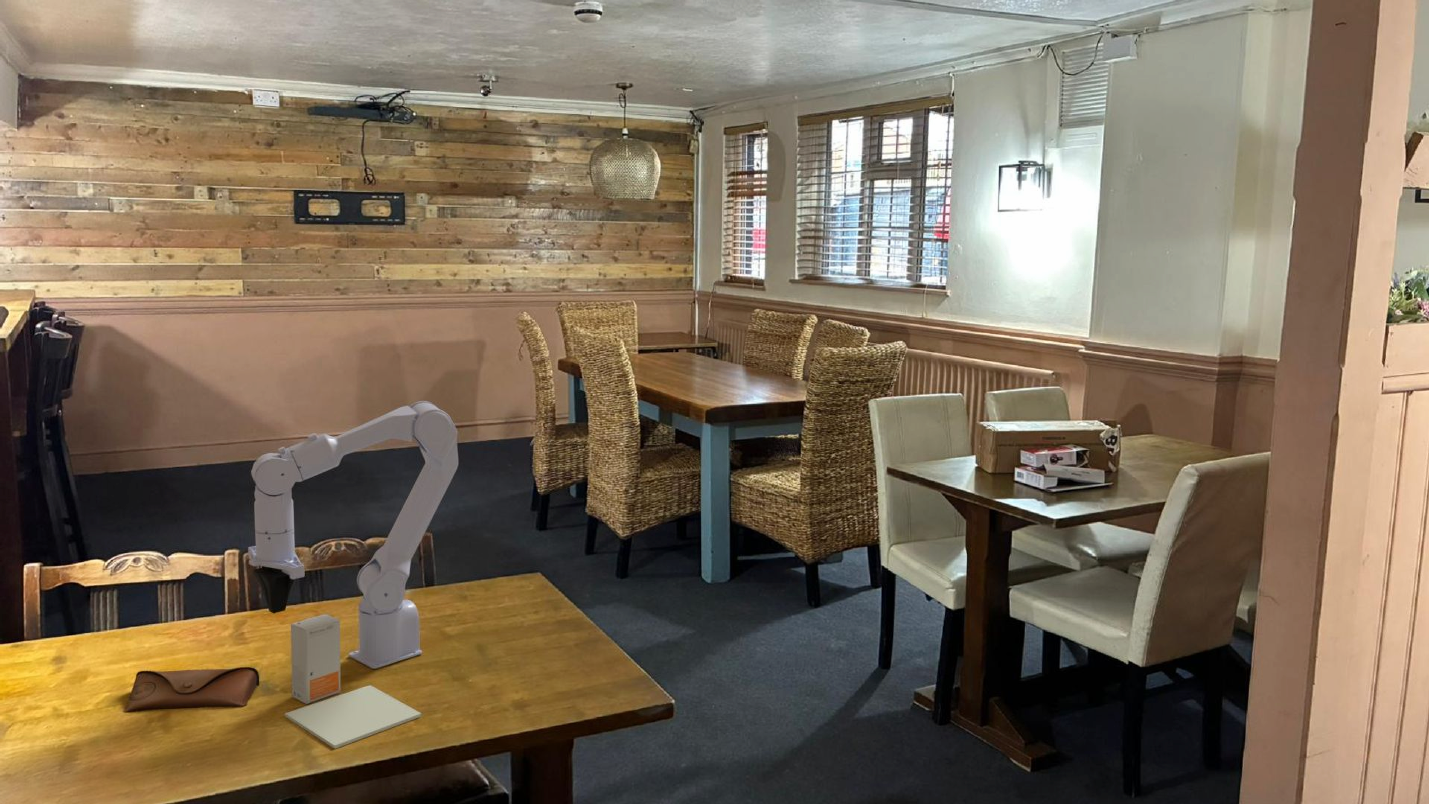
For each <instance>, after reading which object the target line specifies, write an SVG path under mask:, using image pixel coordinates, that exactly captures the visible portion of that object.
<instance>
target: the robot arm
mask: <svg viewBox="0 0 1429 804" xmlns="http://www.w3.org/2000/svg"><path fill="white" fill-rule="evenodd" d="M458 434H459V431H458V429H457V427H456V426H455V423H454V421H453V420H452V418H451V416H450V415H449V414H448V413H447V412H446V411H444V410H442V409H439V408H438V406H437V405H435V404H434V403H432V402H430V401H426V400H420V401H416V402H414V403H413V404H411V405H410V406H409V405H404V406H401V407H398V408H396V409H394V410H391V411H390V412H387V413H385V414H383V415H381V416H378V417H376V418H374V419H372V420H369V421H368V422H365V423H363V424H361V425H359V426H356V427H354V428H352V429H350V430H348V431H346V432H343V433H341V434H339V435H337V436H332V435H328V434H326V433H322V434H319V435H317V434H316V433H315V432H313V433H311V434H307V438H308V439H307V440H304V441H302V442H299V443H296V444H294V445H292V446H289V447H287V448H285V446H282V447H279V448H278V449H277V450H278V453H277V452H276V453H275V452H274V453H273V452H268V453H265V454H262V455H260V457H259V456H258V458H257V459H256V461H254V463H253V466H252V469H251V470H250V473H251V477H252V479H253V482H254V483H255V486H254V487H255V488H254V489H255V490H254V499H255V501H254V503H253V504H254V508H253V509H254V530H255V531H254V534H255V545H254V546H253V545H252V546H248V547H247V549H248V550H247V553H248V564H249V565H250V566H252V567H258V568H255V569H253V571H252V572H253V575H254V576H255V578H256V580H257V581H258V583H259V585H260V587H261V589H262V593H263V595H264V598H265V602H266V606H267V608H268V611H269V612H270V613H272V614H276V613H281V612H285V611H286V608H287V604H288V601H289V595H290V592H291V589H292V587H293V585H294V583H295V580H297V579H300V578H304V577H305V565H304V564H303V563H302V562H301V561H300V559H299V557H298V555H297V553H296V552H295V551H296V549H295V548H296V546H295V545H296V544H295V518H294V517H295V513H294V512H295V511H294V500H293V498H292V497H293V495H292V494H293V493H292V488H293V487H294V485H295V483H297V482H298V483H299V482H300V483H301V482H303V481H305V480H308V479H310V478H313V477H315V476H317V475H320V474H322V473H324V472H327V471H329V470H332V469H334V468H336V467H338V466H339V465H340V464H341V461H342V459H343V457H344V456H346V455H348V454H351V453H355V452H357V451H359V450H363V449H365V448H368V447H371V446H373V445H376V444H379V443H381V442H384V441H386V440H390V439H394V440H399V441H405V442H410V443H412V442H413V440H415V441H416V443H417V444H418V446H419V447H418V448H419V449H420V453H421V454H422V457H423V459H424V461H425V462H424V465H423V467H422V468H421V470H420V473H419V475H418V476H417V478H416V480H415V483H414V484H413V486H412V488H411V491H410V492H409V494H408V497H407V499H406V500H405V502H404V504H403V506H402V508H401V510H400V512H399V514H398V516H397V518H396V520H395V521H394V524H393V526H392V528H391V530H390V532H389V534H388V536H387V538H386V540H385V541H384V544H383V545H382V546H381V547H380V548H378V549H377V550H376V551H375V552H374V554H373V556H372V558H371V560H369V562H367V563H366V564H365V565H363V566H362V567H361V568H360V570H358V571H359V572H358V574H357V576H356V585H357V587H358V589H359V591H360V592H361V593H362V594H363V596H362V598H361V600H360V602H359V604H358V645H359V646H358V647H359V648H358V649H357V650H355V651H351V652H349V653H348V656H349V657H350V658H352V659H353V660H356V661H357V662H359V663H361V664H364V665H365V666H367V667H369V668H371V669H378V668H383V667H385V666H388V665H390V664H394V663H397V662H400V661H403V660H407V659H410V658H413V657H416V656H420V655H422V654H423V650H421V649H420V646H421V645H420V616H419V614H420V613H419V610H418V609H417V606H416V605H415V603H414V602H413V601H411V600H409V599H407V598H406V599H405V595H406V583H407V581H408V578H409V577H410V571H411V562H412V559H413V557H414V555H415V553H416V551H417V549H418V547H419V545H420V543H421V540H422V539H423V538H424V537H423V536H424V535H425V532H426V531H427V529H428V527H429V526H430V524H431V521H432V519H433V517H434V515H435V513H436V512H437V509H438V507H439V506H440V504H441V501H442V499H443V497H444V496H445V494H446V491H447V489H448V487H449V486H450V484H451V482H452V480H453V479H454V475H455V473H456V472H457V469H458V467H459V452H458V440H457V437H458ZM259 566H261V567H259Z"/></svg>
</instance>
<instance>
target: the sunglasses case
mask: <svg viewBox="0 0 1429 804" xmlns="http://www.w3.org/2000/svg"><path fill="white" fill-rule="evenodd" d="M258 686H260V675H259V671H258V670H257V669H256V668H255V667H250V666H240V667H235V668H219V669H218V668H210V669H208V668H206V669H203V668H202V669H180V670H163V671H160V670H159V671H158V670H157V671H156V670H140V671H138V672H137V673H136V675H135V680H134V683H133V686H132V689H131V692H130V695H129V697H128V701H127V704H126V706H125V707H124V708H125V709H124V710H123V711H122V713H136V712H146V711H156V710H157V711H159V710H177V709H178V710H179V709H180V710H181V709H200V708H201V709H202V708H203V709H204V708H230V707H231V708H240V707H245V706H246V707H247V706H248V703H249V701H250V699H251V698H252V696H253V694H254V693H255V691H256V689H257V687H258Z"/></svg>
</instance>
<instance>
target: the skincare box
mask: <svg viewBox="0 0 1429 804" xmlns="http://www.w3.org/2000/svg"><path fill="white" fill-rule="evenodd" d="M290 643H291V645H290V647H291V648H290V649H291V656H290V657H291V696H292V698H293V699H296V700H298V701H300V702H302V703H304V704H305V705H308V704H309V705H310V704H311V703H314V702H316V701H319V700H322V699H325V698H327V697H332V696H333V695H337V694H340V693H341V690H342V689H341V620H340V619H338V618H335V617H334V616H331V615H328V614H327V613H323V614H320V615H317V616H314V617H312V616H311V617H309V618H305V619H304V620H301V621H296V622H293V623H291V624H290Z"/></svg>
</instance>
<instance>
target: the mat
mask: <svg viewBox="0 0 1429 804" xmlns="http://www.w3.org/2000/svg"><path fill="white" fill-rule="evenodd" d="M284 717H285V718H287V719H288V720H289V721H291V722H293V723H294V724H296V725H297V726H299V727H301V728H302V729H303V730H306V732H308V733H310V734H311V735H312V736H314V737H315V738H317V739H319V740H321V741H322V742H323V743H325V744H327V745H328V746H329V747H331V748H333V749H336V750H337V749H338V748H341V747H344V746H347V745H350V744H351V743H354V742H357V741H360V740H362V739H364V738H368V737H370V736H373V735H376V734H378V733H381V732H385V731H386V730H389V729H392V728H394V727H397V726H400V725H403V724H405V723H408V722H411V721H412V720H416V719H419V718H421V717H422V713H421V712H420V711H418V710H416V709H414V708H412V707H410V706H409V705H407V704H405V703H403V702H401V701H399V700H397V699H396V698H394V697H392V696H391V695H389V694H387V693H386V692H383V691H381V690H380V689H378V688H376V687H374V686H372V685H371V684H370V685H366V686H363V687H359V688H357V689H354V690H351V691H347V692H345V693H342V694H339V695H336V696H333V697H330V698H328V699H327V698H326V699H324V700H322V701H321V700H320V701H318V702H315V703H312V704H309V705H307V706H303V707H300V708H297V709H295V710H291V711H289V712H285V713H284Z"/></svg>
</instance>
